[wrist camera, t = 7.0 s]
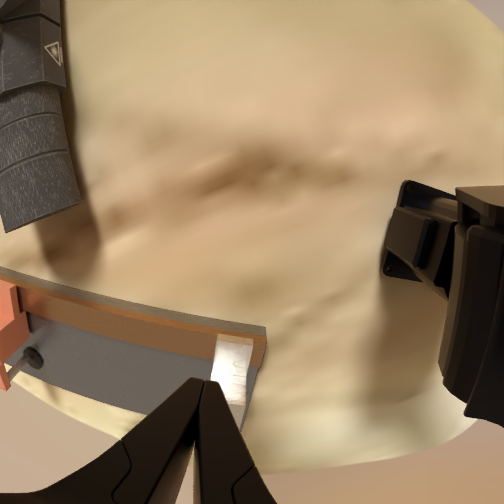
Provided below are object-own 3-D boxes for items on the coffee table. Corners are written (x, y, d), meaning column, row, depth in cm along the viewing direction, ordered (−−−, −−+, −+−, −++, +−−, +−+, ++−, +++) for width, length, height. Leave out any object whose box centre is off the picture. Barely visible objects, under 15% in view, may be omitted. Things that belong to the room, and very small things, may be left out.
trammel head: (21, 281, 18) (-14, 304, 14) (36, 364, 21) (11, 394, 16) (3, 275, 18) (-32, 296, 14) (18, 357, 21) (-7, 384, 16)
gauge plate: (265, 324, 21) (270, 375, 16) (241, 422, 24) (240, 472, 18) (-10, 261, 20) (-51, 284, 14) (8, 355, 22) (-21, 386, 17)
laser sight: (24, 227, 19) (-69, 269, 9) (1, 2, 13) (-65, -25, 3) (125, 186, 18) (27, 215, 9) (88, -53, 12) (34, -109, 3)
